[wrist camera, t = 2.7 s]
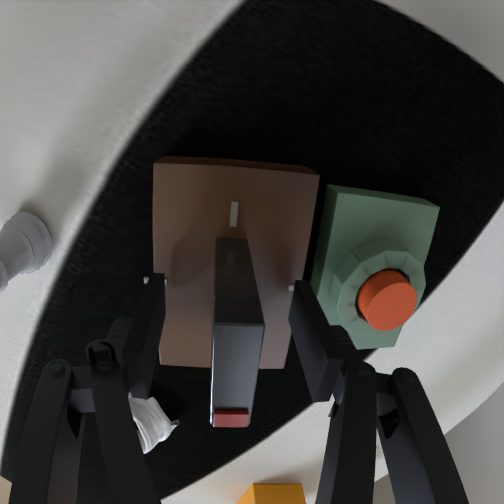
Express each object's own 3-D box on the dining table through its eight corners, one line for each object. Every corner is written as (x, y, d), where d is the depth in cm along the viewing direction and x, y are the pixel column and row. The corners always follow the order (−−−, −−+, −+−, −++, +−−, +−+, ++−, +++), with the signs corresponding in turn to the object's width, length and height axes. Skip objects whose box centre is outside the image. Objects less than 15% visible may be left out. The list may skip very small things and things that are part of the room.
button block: (326, 184, 21) (348, 200, 17) (424, 198, 21) (455, 215, 18) (298, 333, 25) (309, 367, 22) (384, 331, 26) (403, 360, 23)
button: (365, 268, 19) (376, 281, 18) (411, 270, 20) (424, 282, 18) (351, 316, 21) (360, 332, 19) (395, 315, 21) (406, 329, 19)
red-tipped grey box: (215, 237, 18) (213, 327, 11) (248, 238, 18) (266, 328, 11) (211, 324, 20) (210, 428, 13) (239, 325, 21) (249, 429, 13)
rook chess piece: (44, 204, 19) (-22, 249, 12) (62, 261, 21) (9, 323, 14) (2, 216, 19) (-62, 260, 12) (20, 268, 21) (-34, 325, 14)
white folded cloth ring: (138, 429, 31) (133, 466, 26) (90, 401, 28) (81, 440, 23) (189, 412, 29) (188, 454, 25) (139, 379, 26) (131, 425, 22)
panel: (153, 155, 19) (141, 162, 16) (315, 167, 20) (331, 177, 17) (157, 338, 24) (151, 365, 21) (285, 343, 26) (292, 370, 23)
